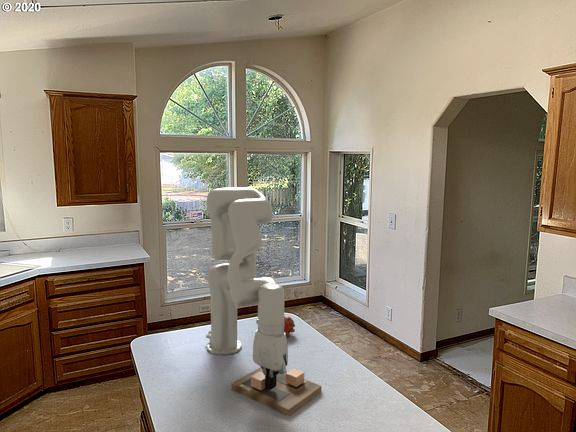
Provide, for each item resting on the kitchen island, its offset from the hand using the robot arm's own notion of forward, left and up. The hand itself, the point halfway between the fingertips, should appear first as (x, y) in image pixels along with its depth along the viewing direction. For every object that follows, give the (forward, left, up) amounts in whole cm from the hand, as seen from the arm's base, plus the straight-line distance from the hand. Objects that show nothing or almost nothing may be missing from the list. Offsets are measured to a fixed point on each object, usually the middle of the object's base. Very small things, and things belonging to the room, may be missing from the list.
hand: (270, 387), depth 126 cm
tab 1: (-4, 0, -1) cm, 4 cm away
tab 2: (+3, +8, -1) cm, 9 cm away
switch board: (-1, +4, -3) cm, 5 cm away
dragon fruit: (-25, +37, -4) cm, 45 cm away
